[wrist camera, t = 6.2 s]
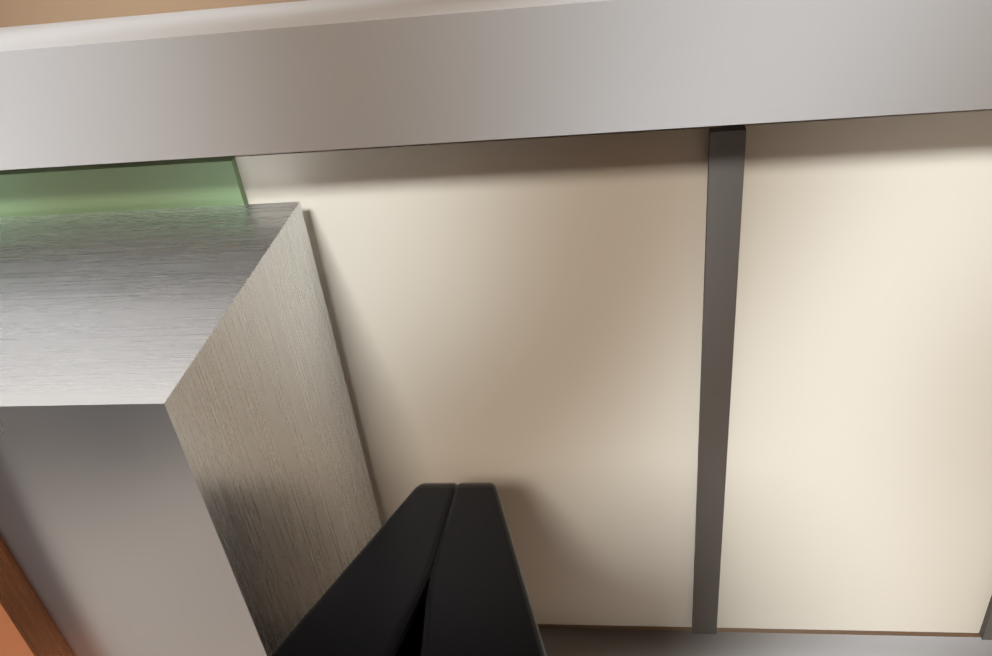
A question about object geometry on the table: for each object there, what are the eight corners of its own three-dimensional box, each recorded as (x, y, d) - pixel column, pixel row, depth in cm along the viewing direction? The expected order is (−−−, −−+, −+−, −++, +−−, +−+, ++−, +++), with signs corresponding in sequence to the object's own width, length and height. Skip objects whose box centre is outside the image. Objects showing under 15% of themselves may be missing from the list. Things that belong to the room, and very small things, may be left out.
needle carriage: (279, 119, 8) (96, 326, 5) (414, 651, 12) (356, 923, 9) (-122, 146, 8) (-485, 345, 5) (144, 644, 12) (12, 899, 10)
